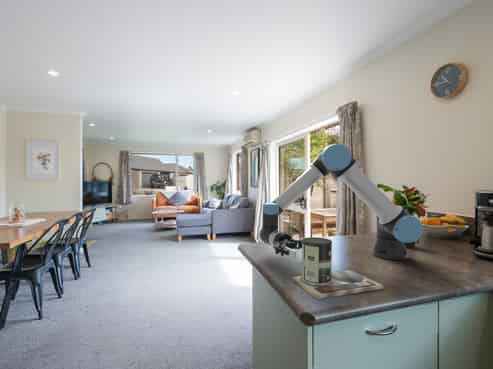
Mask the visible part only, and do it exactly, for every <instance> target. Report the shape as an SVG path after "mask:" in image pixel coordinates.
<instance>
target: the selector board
mask: <svg viewBox="0 0 493 369" xmlns="http://www.w3.org/2000/svg"><path fill="white" fill-rule="evenodd" d="M331 280H332V282H331V283H330V284H328V285H312V284H308V283H306V282H304V281H303V280H302V275H299V276H291V281H292V282H293V283H295V284H296V285H297V286H298V287H300V288H301V289H303V290H304V291H305V292H307V293H308V294H309V295H311V296H312V297H314V298H315V299H316V300H320V299H321V300H322V299H326V298H333V297H339V296H344V295H351V294H357V293H363V292H369V291H377V290H382V289H384V285H383V284H382V283H379V282H377V281H375V280H373V279H370V278H368V277H366V276H364V275H362V274H359V273H358V272H356V271H353V270H352V269H346V270H334V271H331Z"/></svg>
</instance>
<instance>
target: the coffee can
mask: <svg viewBox="0 0 493 369" xmlns="http://www.w3.org/2000/svg"><path fill="white" fill-rule="evenodd" d="M301 240H302V248H301V255H302V257H301V260H302V261H301V264H302V265H301V266H302V267H301V270H302V271H301V272H302V273H301V276H302V280H303V281H304V282H306V283H308V284H312V285H328V284H330V283H331V282H332V280H331V272H332V271H333V270H332V267H333V266H332V264H333V262H332V261H333V260H332V259H333V258H332V254H333V253H332V252H333V251H332V249H333V245H332V244H333V241H332V240H331V239H328V238H324V237H313V236H311V237H310V236H309V237H304V238H302V239H301Z"/></svg>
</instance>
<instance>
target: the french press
mask: <svg viewBox="0 0 493 369" xmlns="http://www.w3.org/2000/svg"><path fill="white" fill-rule="evenodd" d="M402 207H403V208H405V210H406V211H407V212H408V208H411V205H410V206H409V205H402ZM419 243H420V238H419V239H417V240H416V241H414V242H411V243H405V242H404V245H405V248H406V249H416V248H417V245H416V244H419Z"/></svg>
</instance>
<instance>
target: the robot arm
mask: <svg viewBox="0 0 493 369" xmlns="http://www.w3.org/2000/svg"><path fill="white" fill-rule="evenodd" d="M357 162H358V161H357V160H356V159H355V158H354V157H353V156H352V154H351V151H350V149H349V148H348V147H347V146H345V145H343V144H341V143H332V144H329V145H327V146H326V147H325V148H324V149H322V150H321V152H320V153H319V154H318V155H317V157H316V158H315V159H314V160H313V161H312V162H311V163H310V167H308V168H307V169H306V170H305V171H304V172H303V173H302V174H301V175H300V176H299V177H297V179H295V181H293V182H292V183H291V184H290V185H289V186H288V187H286V188H285V189H284V191H282V192H281V193H280V194H279V195H278V196H277V197H276V198H274V200H273V201H271V202H265V203H263V204H262V210H261V212H262V226H261V229H260V230H259V232H258V238H259V239H260V241H261V242H263V243H264V244H266V245H268V246H272V248H273V249H274V252H275V255H278V254H280V256H281V257H284V256H287V257H289V258H291V259H294V260H296V259H297V251H296V250H300V249H302V239H294V238H293V237H292V235H290V234H289V233H286V232H283V231H280V230H279V217H280V215H281V214H282V213H283V212H284V211H286V210H287V209H288V208H289V207H290V206H291V205H292V204H293V203H295V201H297V200H298V199H299V198H300V197H301V196H302V195H304V193H305V192H307V191H308V190H309V189H310V188H312V186H314V184H316V182H318V181H319V180H320V179H325V177H326V176H328V175H330V174H331V175H332V176H333V177H334V178H335V179H336V180H341V181H343V182H344V184H346V185H347V187H349V188H350V189H351V191H352V192H353V193H355V195H356V196H357V197H358V198H359V199H360V200H361V201H362V202H363V203H364V204H365V205H366V206H367V207H368V208H369V209H370V210H371V211H372V212H373V213H374V214H375V215H376V238H375V242H374V245H373V247H372V250H371V251H372V253H371V254H372V255H373V256H375V257H377V258H380V259H385V260H390V261H392V260H393V261H405V260H407V259H409V258H408V256H409V255H408V251H407V248H405V245H404V242H405V243H411V242H414V241H415V242H417V239H419V240H420V238H421V236H422V234H423V228H424V227H423V223H422V222H421V220H419V218H417V217H416V216H413V215H411V214H410V213H409V212H408V210H407V211H406V208H405V207H402V206H403V205H402V206H401V205H396V204H395V203H394V202H393V201H392V200H391V199H390V198H389V197H388V196H387V195H386V194H385V193H384V192H383V191H382V190H381V189H380V188H379V187H378V186H377V185H376V184H375V183H374V182H373V181H372V180H371V179H370V178H369V177H368V176H367V175H366V174H365V173H364V172H363V171H362V170H361V169H360V168H359V166H358V165H357V164H358V163H357ZM294 249H295V250H294Z"/></svg>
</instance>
